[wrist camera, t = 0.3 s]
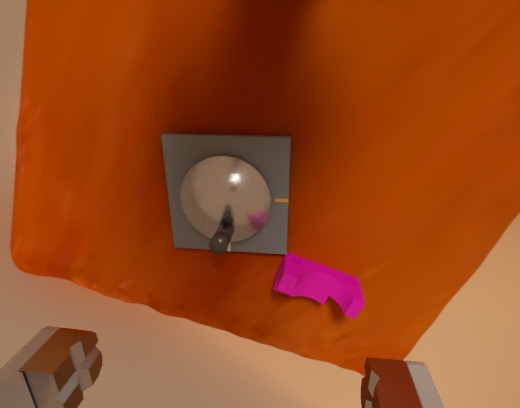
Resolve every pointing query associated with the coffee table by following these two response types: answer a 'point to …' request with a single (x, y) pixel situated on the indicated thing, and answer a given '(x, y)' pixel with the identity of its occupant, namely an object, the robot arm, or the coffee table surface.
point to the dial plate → (244, 146)
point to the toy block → (318, 283)
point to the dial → (225, 199)
